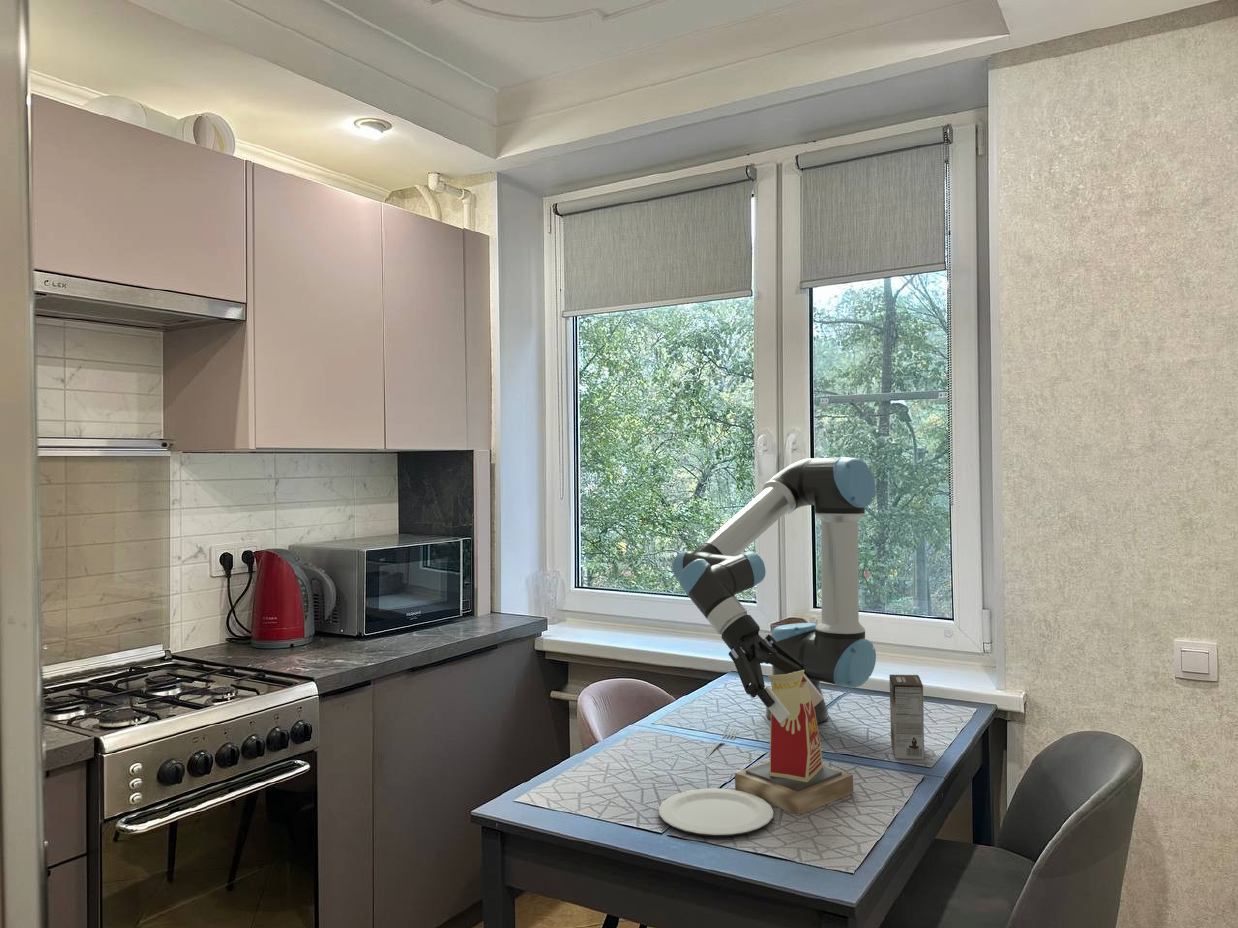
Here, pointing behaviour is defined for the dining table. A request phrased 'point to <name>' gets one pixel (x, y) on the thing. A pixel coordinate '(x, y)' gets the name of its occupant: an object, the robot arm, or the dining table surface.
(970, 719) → the dining table surface
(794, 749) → the milk carton
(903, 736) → the coffee box
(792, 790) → the oak plinth
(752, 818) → the plate
